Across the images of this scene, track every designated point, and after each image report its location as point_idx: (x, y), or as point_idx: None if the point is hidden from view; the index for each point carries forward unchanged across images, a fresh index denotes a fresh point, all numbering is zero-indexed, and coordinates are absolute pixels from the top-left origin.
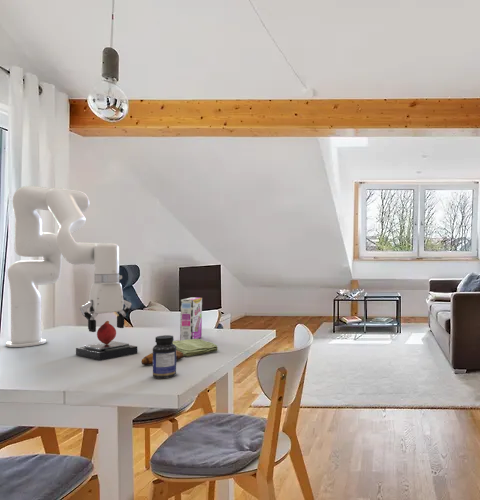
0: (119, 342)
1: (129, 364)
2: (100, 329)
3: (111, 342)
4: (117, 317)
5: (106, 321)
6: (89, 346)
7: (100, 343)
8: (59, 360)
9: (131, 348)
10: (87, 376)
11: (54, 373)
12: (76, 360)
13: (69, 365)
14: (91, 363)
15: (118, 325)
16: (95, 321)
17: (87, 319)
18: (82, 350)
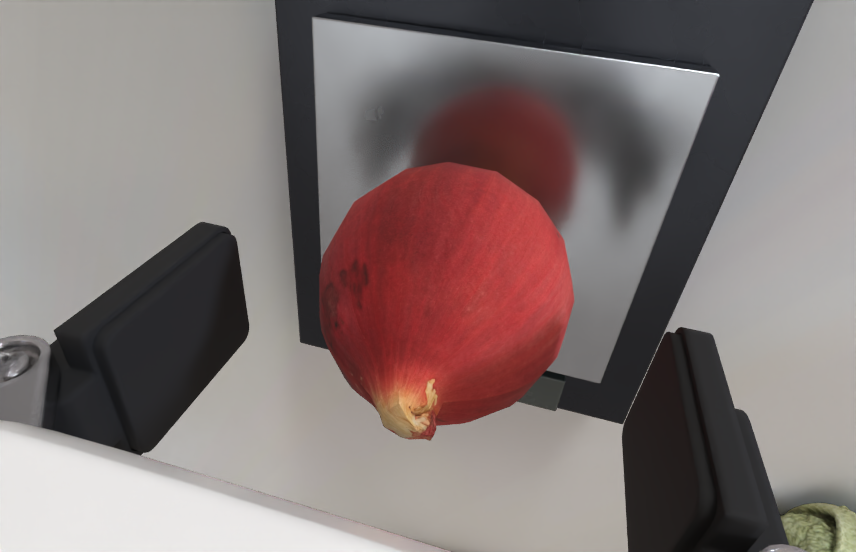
0: (631, 254)
1: (367, 489)
2: (322, 328)
3: (597, 167)
4: (687, 501)
5: (385, 425)
6: (317, 138)
7: (491, 91)
8: (131, 8)
9: (563, 403)
10: (159, 459)
11: (62, 316)
12: (226, 150)
13: (151, 241)
14: (258, 317)
15: (652, 391)
16: (148, 444)
17: (22, 339)
18: (285, 71)
